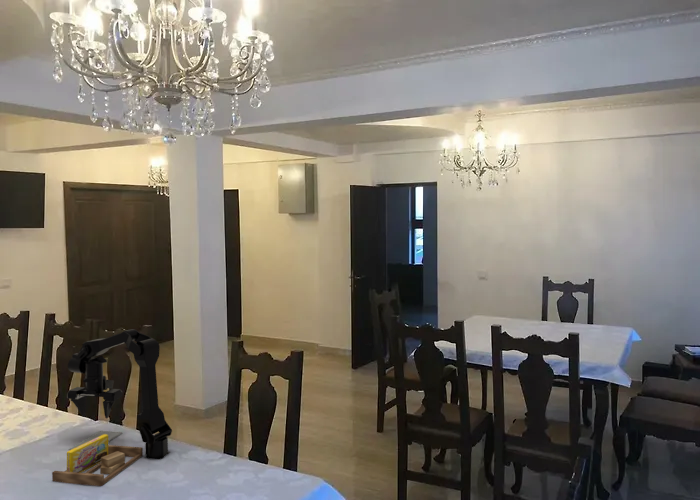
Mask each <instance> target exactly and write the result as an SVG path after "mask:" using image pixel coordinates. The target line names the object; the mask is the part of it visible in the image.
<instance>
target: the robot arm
mask: <svg viewBox="0 0 700 500" xmlns="http://www.w3.org/2000/svg"><path fill="white" fill-rule="evenodd" d="M123 344H125V345H126V348H127V350H128V351H129V352H130V353H132V354H133V359H134V361H135V362H136V364H137V365H138V367H139V371H140V384H141V397H142V411H141V412H140V413H139V414H137V415H136V416H137V417H136V419H137V426H136V427H137V428H138V430H139V434H140V436H141V437H140V438H141V440H142V442H143V443H145V444H144V447H145V448H144V449H145V456H144V457H143V459H149V460H151V459H152V460H162V459H164V458H165V457H166V456H168V455H170V453H171V451H169V437H171V435H172V433H173V430H172V427H170V425H169V424H168V423H167V420H166V418H165V414H164V412H163V410H162V409H161V408H160V406H159V394H158V385H157V384H158V383H157V382H158V381H157V370H156V364H157V362H158V359H159V357H160V351H161V350H160V348H161V347H160V342H159V341H157V339H155V338H153V337H152V336H150V335H147V334H145V333H143V332H140V331H138V330H137V329H134V328H132V329H127V330H123V331H122V332H119V333H116V334H114V335H111V336H109V337H106V338H104V337H103V338H97V339H92V340H87V341H84V342H82V346H81V348H80V350H79V351H78V352H77V353H73V354H72V355H71V358H70V359H69V361H68V363H67V369H68V371H69V372H72V373H76V374H77V373H79V374H85V378H83V383H85V386H83V387H82V386H81V387H80V386H77V387H74V388H72V389H70V390H68V392H67V393H66V398H67V399H69V400H70V402H72V403H73V404H74V406H75V407H76V408H77V410H78V411H79V413H80V415H81V417H82V418H85V417H86V414H87V408H86V402H87V401H86V400H87V398H88V397H97V398H102V399H103V401H102V406H103V414H104V417H105V419H108V418H109V416H110V415H111V411H112V407H113V405H114V404H115V402H116V401H118V400H119V399H121V398H123V391H122V389H120V388H114V382H115V381H114V380H112V379H107V377H106V375H104V368H103V367H104V365H103V364H105V363H107V362H108V360H107V359H106V358H104V356H103V355H104V354H105V353H106V352H108V351H109V350H110V349H111V348H114V347H117V346H120V345H123ZM108 389H109V390H108Z"/></svg>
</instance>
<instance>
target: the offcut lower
mask: <svg viewBox="0 0 700 500" xmlns="http://www.w3.org/2000/svg"><path fill="white" fill-rule="evenodd" d="M125 463H126V460H125V461H124V462H121V463H119V464H116V465H114V466H111V467H109V468H107V467H104V466H102V467H100V468H99V471H100V472H99V474H103V475H110V474H111V473H112V472H114V471H115V470H117V469H118V468H119V467H121V466H122V465H124V464H125Z"/></svg>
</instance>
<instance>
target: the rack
mask: <svg viewBox="0 0 700 500" xmlns="http://www.w3.org/2000/svg"><path fill="white" fill-rule="evenodd" d="M143 449H144V447H143V446H142V447H141V446H128V445H116V444H115V445H113V444H108V455H109V454H112V453H114V452H117V451H119V452H122V453H125V457H128V458H129V457H130V459H129V460H128V461H125V464H124V465H122V466H121V467H119V468H118V469H117V470H115V471H114V472H112V473H111V474H110V475H109V474H107V476H105V474H100V473H95V472H96V471H98V470H100V467H102V465H101V462H100V463H98V464H96V465H94V466H93V467H91V468H89V470H86V471H85V472H81V473H78V472H67V469H66V470H64V471H63V470H54V471H52V472H51V477H52V478H51V479H52V482H56V483H57V482H58V483H63V484H64V483H66V484H73V485H83V486H85V485H86V486H95V487H96V486H97V487H103V486H104V485H105V484H107V483H108V482H109V481H111V480H112V479H113V478H115V477H116V476H117V475H118V474H121V473H122V472H123V471H124V470H125V469H127V468H128V467H129V466H131V465H133V463H135V462H136V461H138V460H139V459H141V458H142V457H143V453H144V452H143V451H144V450H143Z"/></svg>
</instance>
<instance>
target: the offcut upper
mask: <svg viewBox="0 0 700 500" xmlns="http://www.w3.org/2000/svg"><path fill="white" fill-rule="evenodd" d="M124 461H125V462H126V456H125V453H122V452H119V451H117V452H114V453H112V454H109V455H106V456H104V457H101V462H100V463H101V465H102V466H104V467H107V468H109V467H111V466H114V465H116V464H119V463H121V462H124Z"/></svg>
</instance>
